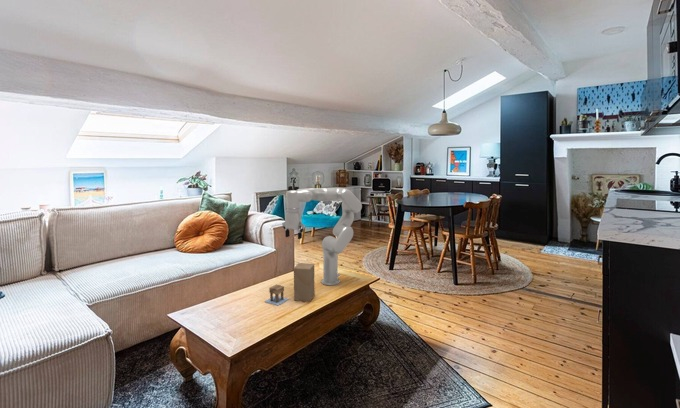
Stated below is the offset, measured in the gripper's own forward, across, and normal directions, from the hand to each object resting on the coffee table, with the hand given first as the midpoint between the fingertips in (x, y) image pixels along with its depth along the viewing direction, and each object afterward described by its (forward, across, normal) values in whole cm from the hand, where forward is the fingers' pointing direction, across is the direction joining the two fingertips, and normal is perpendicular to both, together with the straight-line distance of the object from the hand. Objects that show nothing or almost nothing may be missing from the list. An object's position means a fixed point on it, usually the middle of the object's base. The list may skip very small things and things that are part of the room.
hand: (293, 237), depth 215 cm
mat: (+34, +1, -18) cm, 39 cm away
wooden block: (+34, +12, -6) cm, 37 cm away
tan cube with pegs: (+34, +1, -18) cm, 38 cm away
